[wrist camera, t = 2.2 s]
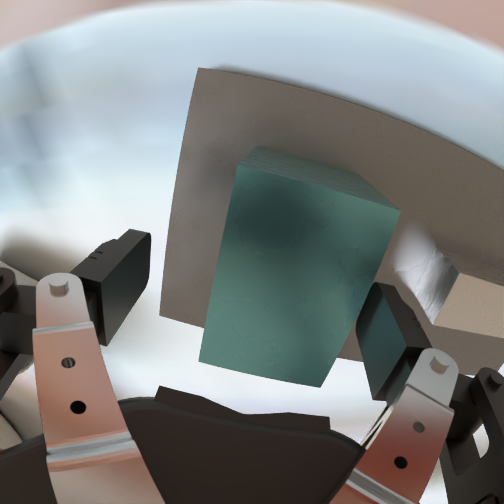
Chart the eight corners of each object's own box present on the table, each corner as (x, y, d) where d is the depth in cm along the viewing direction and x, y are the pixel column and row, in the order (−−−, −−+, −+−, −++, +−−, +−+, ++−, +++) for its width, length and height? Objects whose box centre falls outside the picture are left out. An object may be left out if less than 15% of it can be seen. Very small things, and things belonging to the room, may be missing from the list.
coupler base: (568, 215, 14) (602, 236, 10) (489, 368, 20) (507, 401, 16) (203, 70, 14) (178, 57, 10) (164, 306, 20) (141, 346, 16)
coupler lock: (358, 174, 14) (401, 211, 9) (309, 315, 18) (315, 396, 12) (255, 145, 14) (237, 165, 9) (221, 295, 18) (196, 371, 12)
